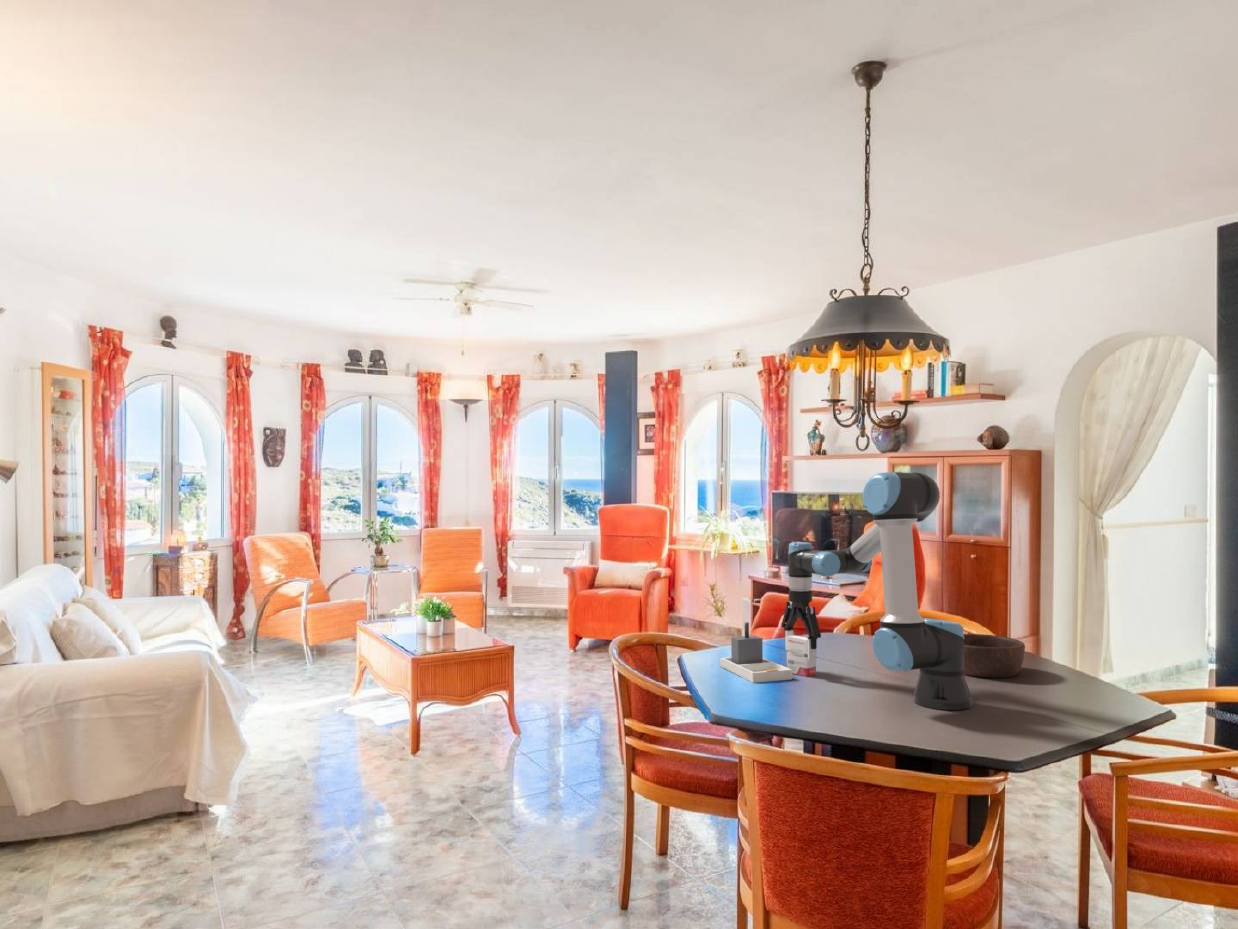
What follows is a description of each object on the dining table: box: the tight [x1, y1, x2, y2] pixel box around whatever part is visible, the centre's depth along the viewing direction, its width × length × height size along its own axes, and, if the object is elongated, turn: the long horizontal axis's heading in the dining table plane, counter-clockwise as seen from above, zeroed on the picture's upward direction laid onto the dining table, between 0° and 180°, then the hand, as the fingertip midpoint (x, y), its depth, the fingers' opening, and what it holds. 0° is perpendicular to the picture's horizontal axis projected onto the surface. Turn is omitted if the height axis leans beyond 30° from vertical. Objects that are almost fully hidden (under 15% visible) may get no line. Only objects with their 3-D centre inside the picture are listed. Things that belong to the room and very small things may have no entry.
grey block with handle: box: [730, 621, 764, 665], centre depth 257 cm, size 5×9×15 cm, turn 108°
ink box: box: [786, 634, 817, 678], centre depth 251 cm, size 8×5×12 cm, turn 39°
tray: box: [719, 656, 793, 683], centre depth 251 cm, size 23×14×3 cm, turn 18°
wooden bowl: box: [964, 633, 1026, 679], centre depth 253 cm, size 25×25×10 cm
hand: (800, 654), depth 251 cm, fingers open, 13 cm apart
